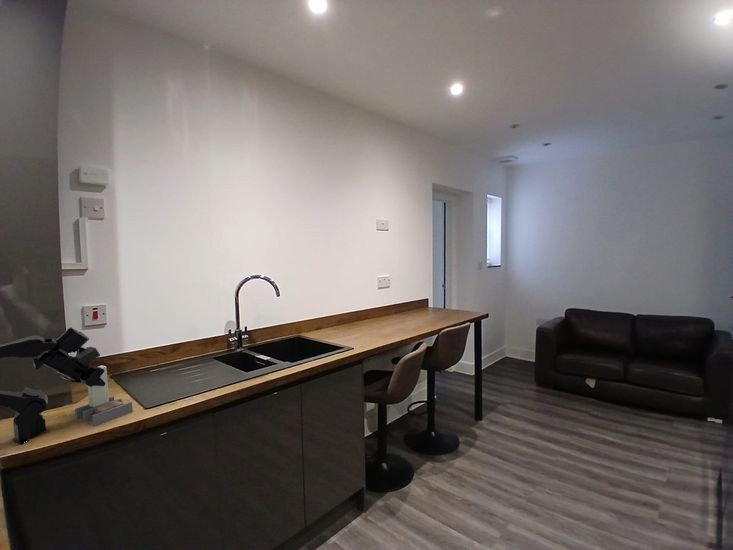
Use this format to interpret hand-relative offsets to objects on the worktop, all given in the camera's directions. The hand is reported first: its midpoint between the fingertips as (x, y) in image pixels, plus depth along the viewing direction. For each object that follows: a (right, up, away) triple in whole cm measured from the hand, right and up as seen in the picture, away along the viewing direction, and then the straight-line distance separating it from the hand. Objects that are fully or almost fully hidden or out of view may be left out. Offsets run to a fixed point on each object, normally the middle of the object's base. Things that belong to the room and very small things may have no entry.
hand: (102, 384), depth 131 cm
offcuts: (+5, -10, -3) cm, 12 cm away
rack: (+2, -11, -2) cm, 11 cm away
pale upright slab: (0, -7, -1) cm, 7 cm away
